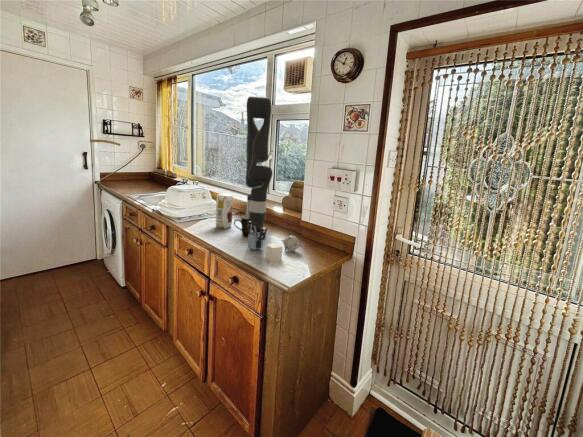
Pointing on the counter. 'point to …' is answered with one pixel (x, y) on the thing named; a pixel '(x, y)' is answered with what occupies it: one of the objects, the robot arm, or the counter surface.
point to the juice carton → (224, 210)
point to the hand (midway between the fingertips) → (255, 245)
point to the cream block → (273, 252)
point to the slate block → (253, 241)
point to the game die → (291, 243)
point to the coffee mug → (243, 225)
